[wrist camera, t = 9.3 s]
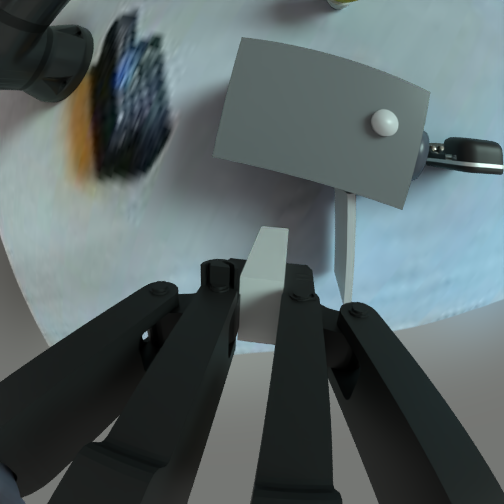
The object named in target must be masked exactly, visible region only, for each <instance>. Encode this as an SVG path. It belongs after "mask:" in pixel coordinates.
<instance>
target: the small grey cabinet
mask: <svg viewBox="0 0 504 504" xmlns="http://www.w3.org/2000/svg"><path fill="white" fill-rule="evenodd" d="M429 97H430V92H429V91H427V90H425V89H423V88H421V87H419V86H416V85H414V84H412V83H410V82H408V81H405V80H403V79H401V78H398V77H396V76H393V75H391V74H388V73H386V72H383V71H380V70H378V69H375V68H372V67H369V66H367V65H364V64H361V63H358V62H355V61H352V60H348V59H345V58H342V57H338V56H335V55H331V54H328V53H324V52H320V51H316V50H312V49H308V48H303V47H299V46H294V45H289V44H284V43H278V42H272V41H266V40H259V39H252V38H244V37H242V38H241V42H240V45H239V49H238V53H237V56H236V60H235V64H234V67H233V71H232V75H231V79H230V83H229V87H228V91H227V95H226V99H225V103H224V107H223V111H222V115H221V120H220V124H219V128H218V133H217V137H216V142H215V147H214V151H213V156H212V157H215V158H220V159H224V160H229V161H234V162H238V163H243V164H247V165H252V166H256V167H260V168H264V169H268V170H272V171H276V172H280V173H284V174H288V175H292V176H296V177H299V178H303V179H307V180H310V181H314V182H317V183H321V184H324V185H328V186H331V187H334V188H338V189H341V190H344V191H348V192H351V193H354V194H357V195H360V196H363V197H366V198H369V199H372V200H375V201H378V202H381V203H384V204H387V205H390V206H393V207H395V208H398V209H401V210H402V209H403V206H404V203H405V200H406V196H407V193H408V190H409V186H410V183H411V181H413V180H415V179H416V178H417V177H418V176H419V175H420V173H421V172H422V170H423V168H424V166H425V163H426V161H427V157H428V152H429V137H428V134H427V133H426V132H425V131H423V130H424V125H425V120H426V114H427V109H428V103H429Z"/></svg>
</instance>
